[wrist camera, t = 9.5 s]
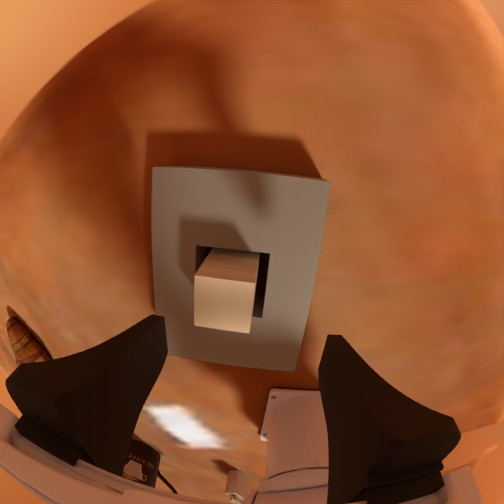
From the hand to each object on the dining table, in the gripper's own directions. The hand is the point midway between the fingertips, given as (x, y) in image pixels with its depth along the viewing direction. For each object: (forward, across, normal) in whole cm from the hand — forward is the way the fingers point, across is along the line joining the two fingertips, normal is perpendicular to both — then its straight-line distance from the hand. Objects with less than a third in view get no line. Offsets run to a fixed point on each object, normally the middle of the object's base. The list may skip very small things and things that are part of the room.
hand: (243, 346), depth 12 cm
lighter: (+10, -1, +36) cm, 37 cm away
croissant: (+10, +28, +17) cm, 34 cm away
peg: (+9, +2, 0) cm, 10 cm away
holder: (+9, +2, 0) cm, 10 cm away
